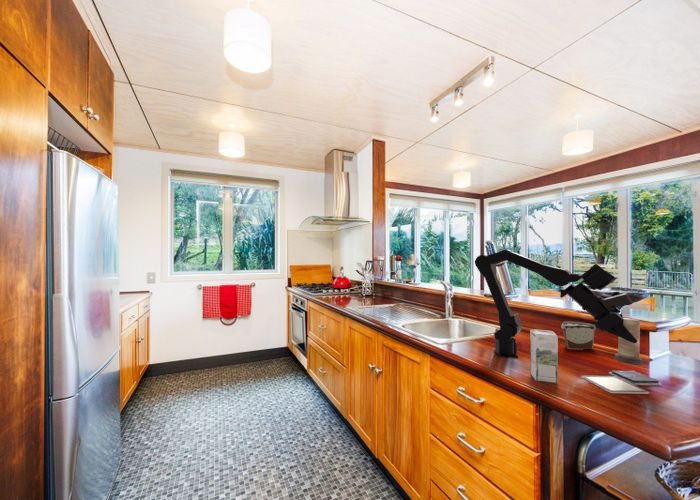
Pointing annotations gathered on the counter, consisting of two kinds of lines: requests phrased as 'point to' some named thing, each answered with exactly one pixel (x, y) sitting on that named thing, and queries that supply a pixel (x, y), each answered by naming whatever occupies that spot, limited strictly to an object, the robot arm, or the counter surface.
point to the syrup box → (544, 355)
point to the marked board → (614, 384)
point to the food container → (578, 335)
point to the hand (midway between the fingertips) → (635, 340)
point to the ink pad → (635, 378)
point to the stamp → (630, 344)
